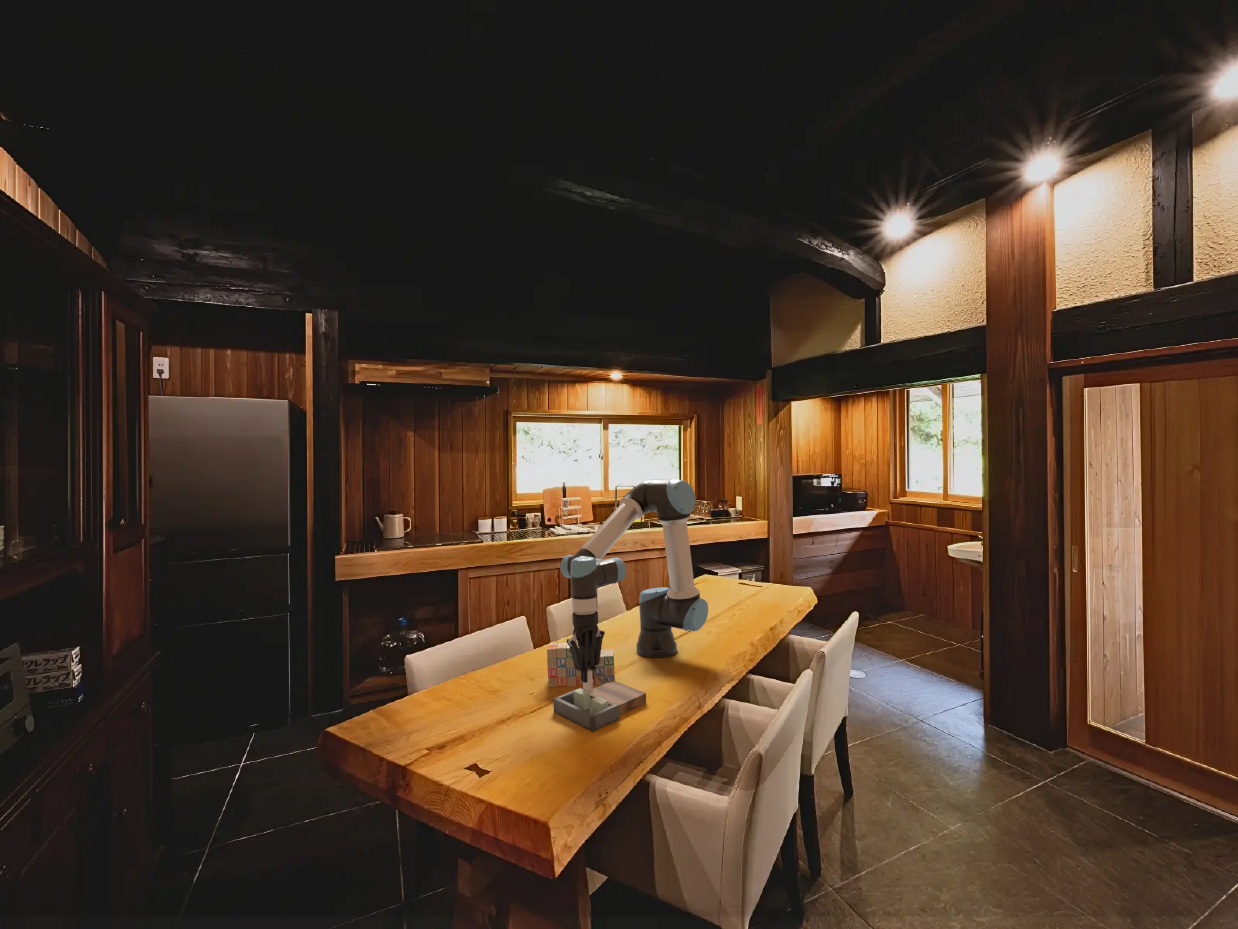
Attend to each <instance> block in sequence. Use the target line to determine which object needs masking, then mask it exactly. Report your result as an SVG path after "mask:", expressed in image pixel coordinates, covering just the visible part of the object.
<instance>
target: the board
mask: <svg viewBox="0 0 1238 929" xmlns="http://www.w3.org/2000/svg"><path fill="white" fill-rule="evenodd" d="M597 696H598V697H600V698H602V699H605V700H607V701H608V707H610V706H612V705H614V704H617V705H619V717H620V716H623V715H624V714H626V713H629V712H631V711H633V710H635V709H637V708H640V707H642V706H644V705H645V704H647V693H646V692H644V691H642V690H640V689H636V688H634V687H631V686H630V685H629V686H628V685H626V684H623V683H621V682H618V681H616V680H615V681H614V680H613V681H611V682H608V683H606V684H604V685H598V686H597V687H593V693H591V694H590V704H591V699H592V698H595V697H597Z"/></svg>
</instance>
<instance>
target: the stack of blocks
mask: <svg viewBox="0 0 1238 929" xmlns="http://www.w3.org/2000/svg"><path fill="white" fill-rule="evenodd" d="M577 646H578V641H577ZM578 649H579V647H578ZM614 651H615V650H614V649H601V654H600V661H599V665H596V666H595V667H596V670H594V679H593V686H601V685H604V684H606V683H608V682H611V681H613V680H614V681H616V680H615V678H616V675H615V674H616V673H615V652H614ZM546 656H547V657H546V658H547V659H546V660H547V680H548V681H547V682H548V687H576V686H583V682H582V681H581V671H579V670H576V669H575V667H574V663H573V659H572V655H571V651H570V647H569V645H568V644H567V642H549V644H548V646H547V648H546ZM595 660H596V659H595Z"/></svg>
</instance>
